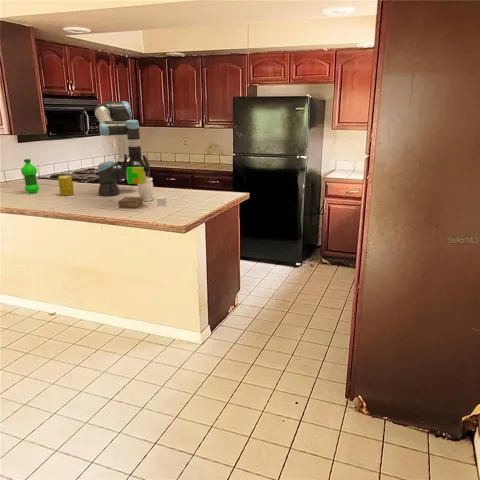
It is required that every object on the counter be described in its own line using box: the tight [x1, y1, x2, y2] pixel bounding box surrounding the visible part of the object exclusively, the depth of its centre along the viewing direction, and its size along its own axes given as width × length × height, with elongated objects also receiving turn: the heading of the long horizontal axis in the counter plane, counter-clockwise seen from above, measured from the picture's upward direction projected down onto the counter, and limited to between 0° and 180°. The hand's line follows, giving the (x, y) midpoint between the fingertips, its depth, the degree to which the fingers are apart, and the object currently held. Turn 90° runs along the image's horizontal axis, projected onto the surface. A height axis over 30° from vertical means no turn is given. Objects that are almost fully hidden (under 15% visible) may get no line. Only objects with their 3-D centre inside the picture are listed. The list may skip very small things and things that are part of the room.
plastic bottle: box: [20, 158, 40, 195], centre depth 314 cm, size 10×10×25 cm
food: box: [57, 174, 75, 196], centre depth 308 cm, size 15×12×10 cm
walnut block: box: [118, 196, 144, 209], centre depth 276 cm, size 12×12×5 cm
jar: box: [137, 176, 154, 202], centre depth 290 cm, size 11×10×15 cm
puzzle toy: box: [126, 164, 146, 185], centre depth 267 cm, size 10×10×10 cm
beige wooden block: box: [156, 196, 167, 207], centre depth 278 cm, size 5×5×5 cm
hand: (137, 181), depth 269 cm, fingers closed on puzzle toy, 11 cm apart
